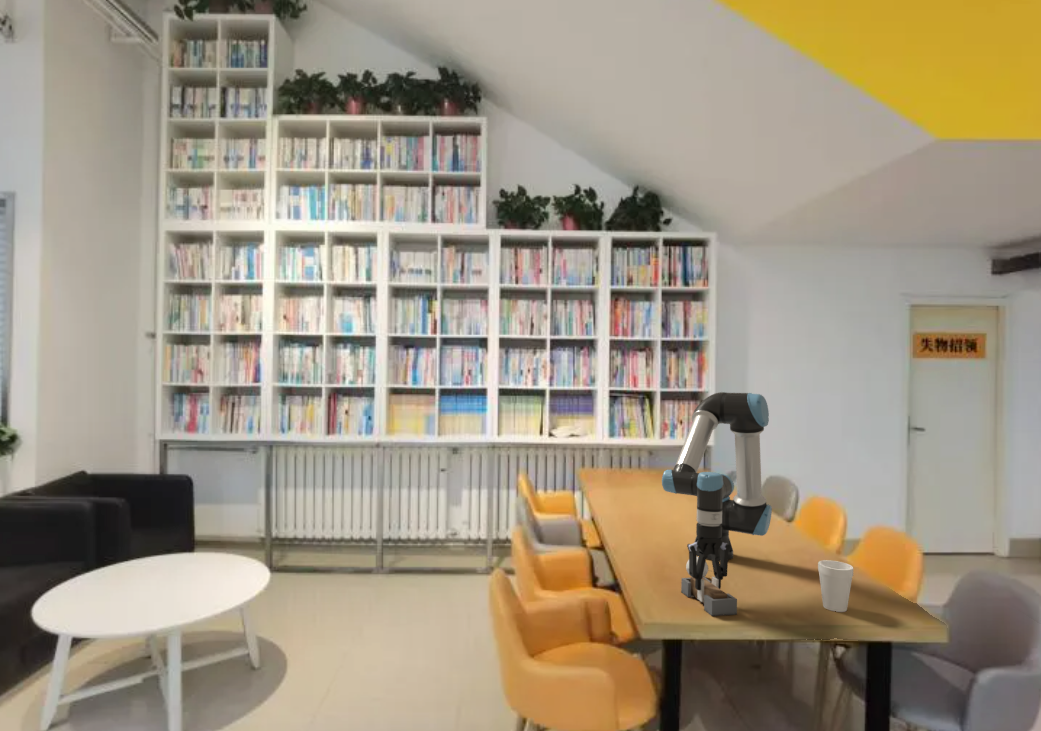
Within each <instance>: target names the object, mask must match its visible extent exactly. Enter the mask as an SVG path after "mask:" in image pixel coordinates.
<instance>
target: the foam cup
mask: <svg viewBox="0 0 1041 731" xmlns="http://www.w3.org/2000/svg"><path fill="white" fill-rule="evenodd" d="M817 562H818V563H817V570H818V574H819V583H820V591H821V599H822V600H821V601H822V606H823V608H824V609H827V610H828V611H831V612H835V611H836V612H835V613H845V612H847V610H848V606H849V605H848V604H849V599H850V592H851V587H852V580H853V577H854V567H853V565H851V564H849V563H846V562H843V561H837V560H830V559H827V560H826V559H823V560H819V561H817Z"/></svg>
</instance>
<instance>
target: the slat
mask: <svg viewBox="0 0 1041 731" xmlns="http://www.w3.org/2000/svg"><path fill="white" fill-rule="evenodd" d="M690 578H691V594H692V595H693V596H695V597H694V598H696V599H697V589H696V588H695V578H693V577H691V576H690ZM705 578H706V577H705ZM705 578H703V577H702V579H703V580H704V595H708V596H710V597H711V598H713V599H724V598H727V594H728V593H726V592H725V591H723V590H722V589H721V588H720V589H719V588H718V587H716V586H715V585H713V584H712V582H711V583H710V582H709V581H707V580H706V579H705ZM701 603H703V604H704V602H701Z"/></svg>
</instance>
